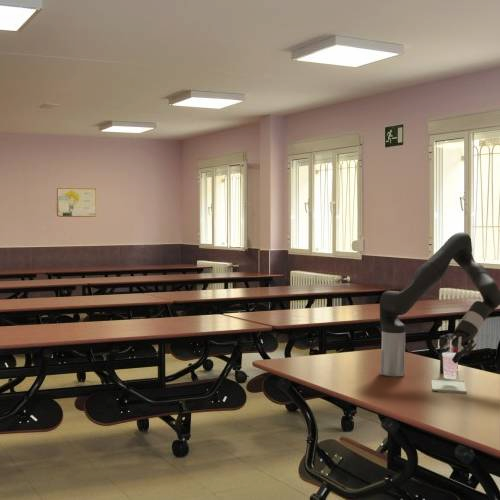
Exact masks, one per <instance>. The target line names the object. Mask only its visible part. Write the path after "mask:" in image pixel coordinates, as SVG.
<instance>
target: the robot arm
mask: <svg viewBox="0 0 500 500" xmlns="http://www.w3.org/2000/svg"><path fill="white" fill-rule="evenodd" d="M472 245H473V244H472V239H471V236H470V235H469V233H466V232H457V233H455V234H452V235H451V236H450V237H449V238H448V239H447V240H446V241H445V242H444V243H443V245H442V246H441V247H440V248H439V249H438V250H437V251H436V252H435V253H434V254H433V255H432V256H431V257H430V258H428V259H427V260H426V261H425V262H423V263H422V264H421V265H420V266H419V267H418V268H416V270H415V272H414V274H413V277H412V281H411V283H410V284H409V285H408V286H407V287H405V288H404V289H403V290H402V291H396V290H395V291H394V290H387V291H384V292H383V293H382V295H381V296H380V299H379V322H380V323H379V324H380V326H381V350H380V374H379V375H380V376H386V377H402V376H403V377H404V375H405V362H406V361H405V360H406V359H405V358H406V325H405V324H404V322H402V321H401V320H400V319H399V316H404V315H406V314H407V313H408V312H409V311H410V310H411V309H412V308H413V307H414V305H415V304H416V303H417V302H418V301H419V300H420V299H421V297H423V295H425V294H426V293H427V292H428V290H430V289H431V288H433V286H435V284H437V282H439V281H440V280H442V278H443V277H444V276H445V274H446V272H447V270H448V268H449V266H450V264H451V261H452V260H453V261H454V262H455V263H456V264H457V265H459V267H460V268H461V269H462V270H463V271H464V272H465V274H466V275H467V276H468V278H469V279H470V281H471V282H472V284H473V285H474V287H475V288H477V290H478V292H479V295H481V297H482V299H483V300H482V301H479V300H476V301H475V302H473V303H472V304H471V306H470V307H469V308H468V311H467V312H466V313H465V314H464V315H463V317H462V318H461V320H460V321H459V323H458V324H457V326H456V327H455V329H454V333H452V334H453V335H452V336H448V335H447V334H448V333H447V334H444V335H445V336H444V338H443V340H442V342H441V344H440V346H439V348H440V347H441V349H442V351H441V352H440V353H438V358H439V361H440V360H443V356H442V353H445V352H448V351H450V340H452V343H451V344H452V345H453V346H451V350H453V349H454V348H458V352H457V353H456V354H455V356H454V357H453V359H452V361H453V362H454V363H457V362H458V363H459V361H460V360H461V358H462V357H464V356H469V354H470V353H471V352H472V351H473V349H474V348H475V347H476V345H477V342H475V338H476V336H477V334H478V333H479V331H480V330H481V328H482V327H483V324H484V323H485V321H486V319H487V318H488V316H489V315H490V314H491V313H492V312H494V311H495V310H496V309H497V308H498V307H499V306H500V288H499V286H498V283H496V281H495V280H494V279H493V278H492V277H491V274H490V273H489V272H488V271H487V269H486V268H485V267H484V266H483V265H482V264H480V263H478V262H476V261H475V258H474V256H473V246H472ZM443 345H444V346H443ZM448 346H449V348H447V347H448Z"/></svg>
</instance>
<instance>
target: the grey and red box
mask: <svg viewBox="0 0 500 500" xmlns="http://www.w3.org/2000/svg"><path fill="white" fill-rule="evenodd" d="M453 334H454V333H451V332H450V333H447V335H448V336H452V335H453ZM445 335H446V334H443V335H440V336H439V338H438V345H439V349H440V352H441V351H442V349H441V347H440V344H441V342H442V340H443V338H444V336H445ZM443 346H444V345H443ZM451 346H453V345H452V344H451ZM447 348H449V346H448V347H447ZM448 352H450V351H448ZM451 352H452V353H457V352H458V348H454V349H453V350H451ZM458 369H459V364H458V365H457V370H458ZM439 374H443V375H444V372H443V360H440V359H439Z"/></svg>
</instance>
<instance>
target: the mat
mask: <svg viewBox="0 0 500 500" xmlns="http://www.w3.org/2000/svg"><path fill="white" fill-rule="evenodd" d="M432 391H438V392H437V393H446V392H448V393H449V394H460V395H462V394H463V395H465V394H466V395H467V388H466V384H465V380H462V379H446V378H431V392H432Z"/></svg>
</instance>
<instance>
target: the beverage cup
mask: <svg viewBox="0 0 500 500" xmlns="http://www.w3.org/2000/svg"><path fill="white" fill-rule="evenodd" d="M451 343H452V340H450V352H445V353H442V356H443V372H444V374H443V379H448V380H457V374H458V369H457V365H458V366H459V361H458V362H457V363H454V362H453V361H452V359H453V357H454V356H455V354H456V353H452V352H451Z"/></svg>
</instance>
